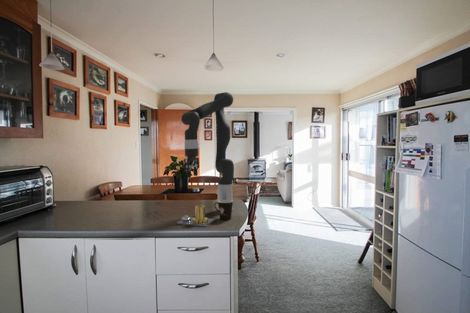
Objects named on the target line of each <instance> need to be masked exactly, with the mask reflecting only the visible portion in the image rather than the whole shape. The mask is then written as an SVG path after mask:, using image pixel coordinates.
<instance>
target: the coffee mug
mask: <svg viewBox="0 0 470 313" xmlns="http://www.w3.org/2000/svg"><path fill="white" fill-rule="evenodd" d="M213 204H214V205H213V206H214V209H215V211H217V212H218V213H219V220H220V221H230V220H231V219H232V215H233V214H232V212H233V210H232V205H233V204H234V200H233V201H232V200H220V201H218V200H217V201H216V202H215V203H213ZM216 205H218V207H219V210H218V208H217V207H216Z"/></svg>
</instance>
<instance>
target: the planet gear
mask: <svg viewBox="0 0 470 313" xmlns="http://www.w3.org/2000/svg"><path fill="white" fill-rule="evenodd" d="M194 207H195V210H194V211H195V212H194V213H195V215H194V216H195V218H193V219H192V222H194V223H202V222H203V223H205V222H208V219H209V218H208V217H206V211H205V210H206V206H205V205H202V204H201V205H195V206H194Z"/></svg>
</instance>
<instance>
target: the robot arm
mask: <svg viewBox="0 0 470 313" xmlns="http://www.w3.org/2000/svg"><path fill="white" fill-rule="evenodd" d="M233 103H234V96H233V95H232V93H230V92H220V93H216V94H215V96H214V98H213V100H212V101H209V102H207V103H204V104H202V105H200V106H198V107H197V108H195V109H192V110H191V109H190V110H189V111H186V112H184V113H183V114H182V115H181V117H180V118H181V122H182V124H184V126H185V125H186V126H188V128H187V129H185V130H184V157H187V158H184V159H183V164H184V165H183V169H184V171H186V178H187V179H190V178H192V169H193V176H194V177H198V169H199V168H200V158H199V141H198V131H199V126H200V120H203V119H205V118H207V117H208V116H211V115H212V114H215V137H216V139H215V143H216V149H215V153H216V154H215V161H214V162H215V166H214V167H215V170H216V171H217V173H220V174H221V178H219V179H217V188H218V189H217V194H218V196H217V198H218V199H217V202H218V201H220V200H232V201H233V202H234V200H233V198H234V197H233V181H234V175H235V164H234V161H233V160H232V159H229V158H226V155H227V153H226V152H227V148H228V146H229V144H230V142H231V127H230V125H229V122H228V121H227V118H226V116H225V110H224V109H225V108H229V107H231V106H232V105H233ZM217 209H218V210H219V207H218V208H217ZM233 209H234V207H233V205H232V211H233Z"/></svg>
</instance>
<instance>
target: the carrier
mask: <svg viewBox="0 0 470 313" xmlns="http://www.w3.org/2000/svg"><path fill="white" fill-rule="evenodd" d="M193 218H195V217H193V216H188V214H185V215H184V216H182V217H181V220H179V221H177V222H176V225H180V224H181V226H192V227H193V226H194V227H208V226H209V225H211V224H213V223H214V222H215V221H216V220H215V219H214V218H208V222H205V223H203V222H202V223H194V222H192V219H193Z"/></svg>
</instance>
